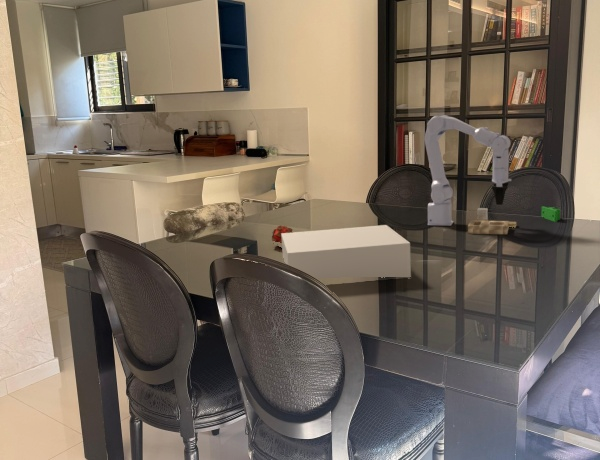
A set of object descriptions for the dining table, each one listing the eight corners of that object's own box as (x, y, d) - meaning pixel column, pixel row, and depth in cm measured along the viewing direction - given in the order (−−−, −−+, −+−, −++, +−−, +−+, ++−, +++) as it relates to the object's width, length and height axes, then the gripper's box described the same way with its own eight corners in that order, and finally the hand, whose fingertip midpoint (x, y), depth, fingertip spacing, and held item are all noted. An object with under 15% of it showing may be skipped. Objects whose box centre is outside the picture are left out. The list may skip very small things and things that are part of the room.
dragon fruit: (283, 246, 219) (288, 258, 207) (265, 236, 216) (268, 247, 205) (295, 228, 217) (300, 239, 206) (277, 217, 214) (281, 228, 203)
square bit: (477, 227, 224) (477, 209, 223) (478, 225, 228) (478, 208, 226) (486, 227, 223) (486, 209, 222) (487, 225, 226) (487, 208, 225)
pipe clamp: (563, 221, 225) (564, 210, 224) (554, 222, 225) (555, 211, 224) (550, 216, 236) (550, 205, 235) (541, 217, 236) (541, 206, 235)
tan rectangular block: (499, 228, 221) (499, 223, 221) (499, 226, 225) (499, 221, 224) (515, 228, 219) (515, 223, 218) (516, 226, 222) (516, 221, 222)
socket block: (467, 233, 214) (467, 225, 214) (470, 227, 223) (470, 220, 223) (507, 234, 209) (507, 226, 208) (508, 228, 218) (508, 221, 217)
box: (283, 265, 187) (281, 233, 185) (387, 256, 190) (386, 224, 188) (290, 290, 160) (287, 253, 158) (410, 279, 163) (410, 242, 161)
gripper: (511, 169, 208) (510, 206, 211) (512, 165, 221) (511, 199, 224) (490, 170, 211) (490, 206, 214) (493, 165, 224) (492, 199, 227)
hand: (499, 202), depth 219 cm, fingers open, 7 cm apart
